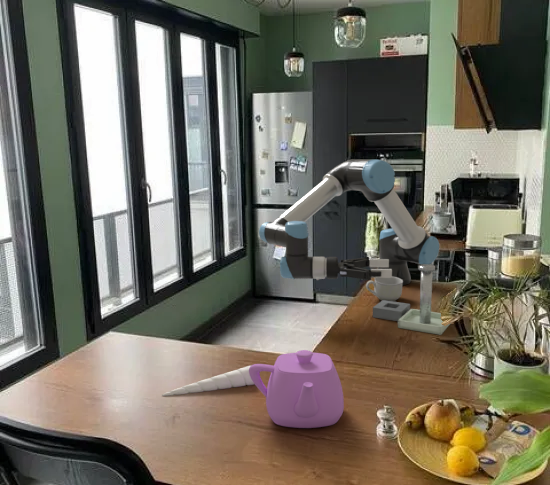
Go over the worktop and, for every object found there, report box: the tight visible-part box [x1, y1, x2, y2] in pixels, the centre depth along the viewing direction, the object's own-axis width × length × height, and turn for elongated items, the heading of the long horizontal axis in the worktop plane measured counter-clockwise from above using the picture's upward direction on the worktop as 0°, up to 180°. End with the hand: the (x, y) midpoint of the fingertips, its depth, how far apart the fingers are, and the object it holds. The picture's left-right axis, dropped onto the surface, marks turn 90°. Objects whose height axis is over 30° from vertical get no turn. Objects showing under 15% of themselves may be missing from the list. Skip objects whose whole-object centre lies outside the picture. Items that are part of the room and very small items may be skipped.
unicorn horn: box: [161, 365, 255, 397], centre depth 137 cm, size 5×24×5 cm, turn 104°
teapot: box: [249, 349, 345, 429], centre depth 118 cm, size 23×21×15 cm
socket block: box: [372, 300, 411, 322], centre depth 190 cm, size 10×10×4 cm
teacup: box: [365, 276, 403, 302], centre depth 208 cm, size 14×11×8 cm
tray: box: [397, 308, 452, 336], centre depth 180 cm, size 14×14×2 cm
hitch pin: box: [418, 264, 436, 324], centre depth 178 cm, size 5×5×19 cm
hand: (390, 268), depth 180 cm, fingers open, 13 cm apart
